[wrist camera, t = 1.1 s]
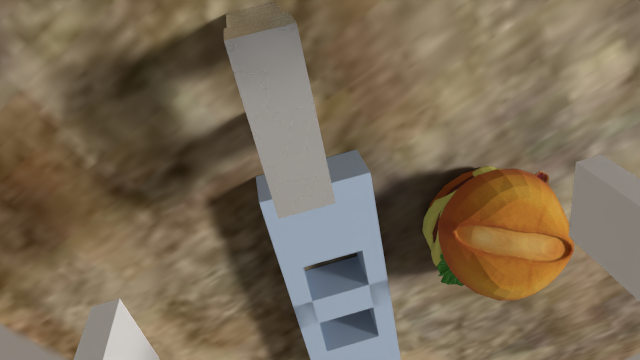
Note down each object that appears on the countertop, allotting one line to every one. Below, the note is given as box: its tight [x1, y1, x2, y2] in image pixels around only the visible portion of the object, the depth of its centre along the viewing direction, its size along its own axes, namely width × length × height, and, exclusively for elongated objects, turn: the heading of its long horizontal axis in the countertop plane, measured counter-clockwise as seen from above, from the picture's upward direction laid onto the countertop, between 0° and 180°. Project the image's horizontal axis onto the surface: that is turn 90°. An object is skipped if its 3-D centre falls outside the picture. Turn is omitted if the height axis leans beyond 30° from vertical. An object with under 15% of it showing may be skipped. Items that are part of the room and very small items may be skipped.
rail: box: [256, 150, 401, 360], centre depth 36 cm, size 22×8×4 cm, turn 12°
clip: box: [224, 2, 336, 219], centre depth 24 cm, size 9×3×10 cm, turn 12°
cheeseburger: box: [422, 166, 574, 300], centre depth 34 cm, size 10×11×10 cm
